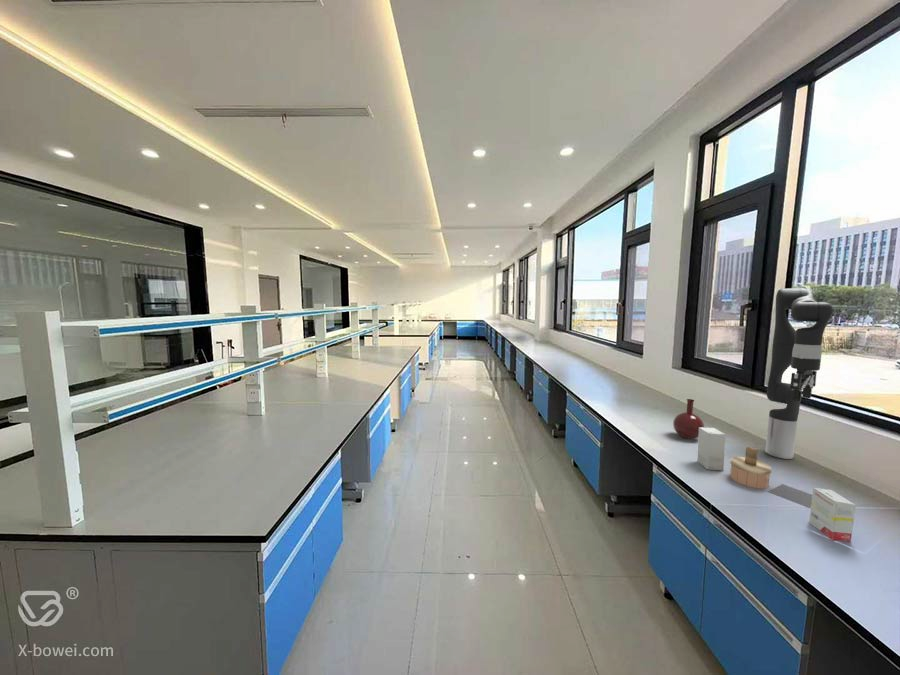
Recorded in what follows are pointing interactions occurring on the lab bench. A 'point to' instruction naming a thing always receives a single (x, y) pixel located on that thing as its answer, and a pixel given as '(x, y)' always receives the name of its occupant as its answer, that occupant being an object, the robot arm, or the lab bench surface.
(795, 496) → the mat
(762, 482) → the bowl
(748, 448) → the lid
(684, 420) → the red vase
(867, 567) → the lab bench surface
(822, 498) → the ink box
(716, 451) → the skincare box
